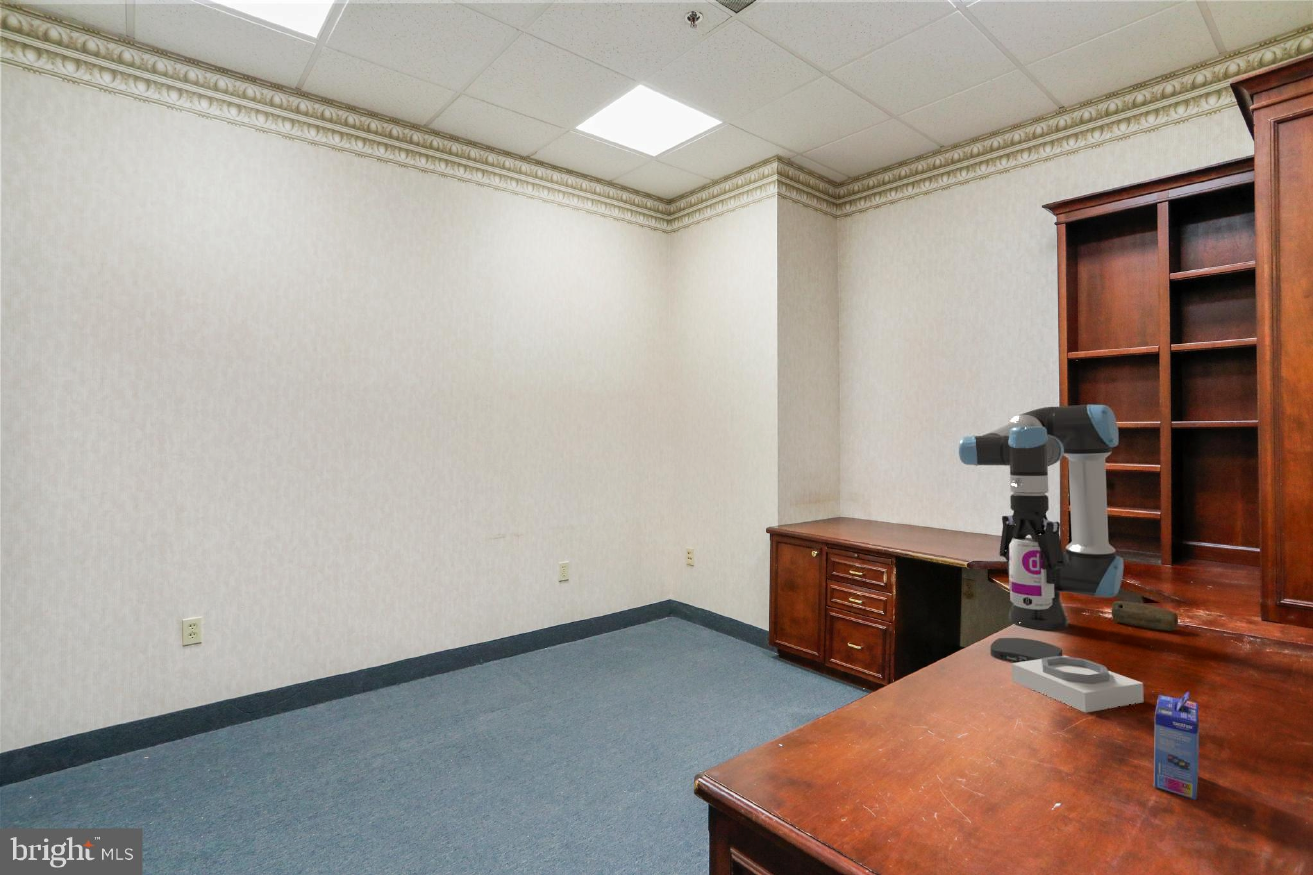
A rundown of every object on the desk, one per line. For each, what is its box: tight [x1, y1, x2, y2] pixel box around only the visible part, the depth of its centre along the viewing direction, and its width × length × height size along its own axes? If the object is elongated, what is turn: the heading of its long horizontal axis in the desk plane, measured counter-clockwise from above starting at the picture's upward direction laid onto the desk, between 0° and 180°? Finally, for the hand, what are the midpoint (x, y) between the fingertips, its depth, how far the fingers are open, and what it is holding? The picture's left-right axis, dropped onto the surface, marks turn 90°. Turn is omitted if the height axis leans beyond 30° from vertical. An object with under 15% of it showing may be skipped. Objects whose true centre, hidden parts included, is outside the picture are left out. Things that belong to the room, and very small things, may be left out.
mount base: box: [1011, 655, 1145, 714], centre depth 138 cm, size 18×16×6 cm
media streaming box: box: [990, 637, 1063, 663], centre depth 161 cm, size 15×15×3 cm
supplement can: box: [1009, 537, 1052, 609], centre depth 144 cm, size 8×8×15 cm
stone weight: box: [1111, 600, 1179, 632], centre depth 183 cm, size 15×7×7 cm, turn 44°
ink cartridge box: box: [1153, 691, 1200, 801], centre depth 102 cm, size 10×6×14 cm, turn 139°
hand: (1031, 593), depth 144 cm, fingers closed on supplement can, 8 cm apart
